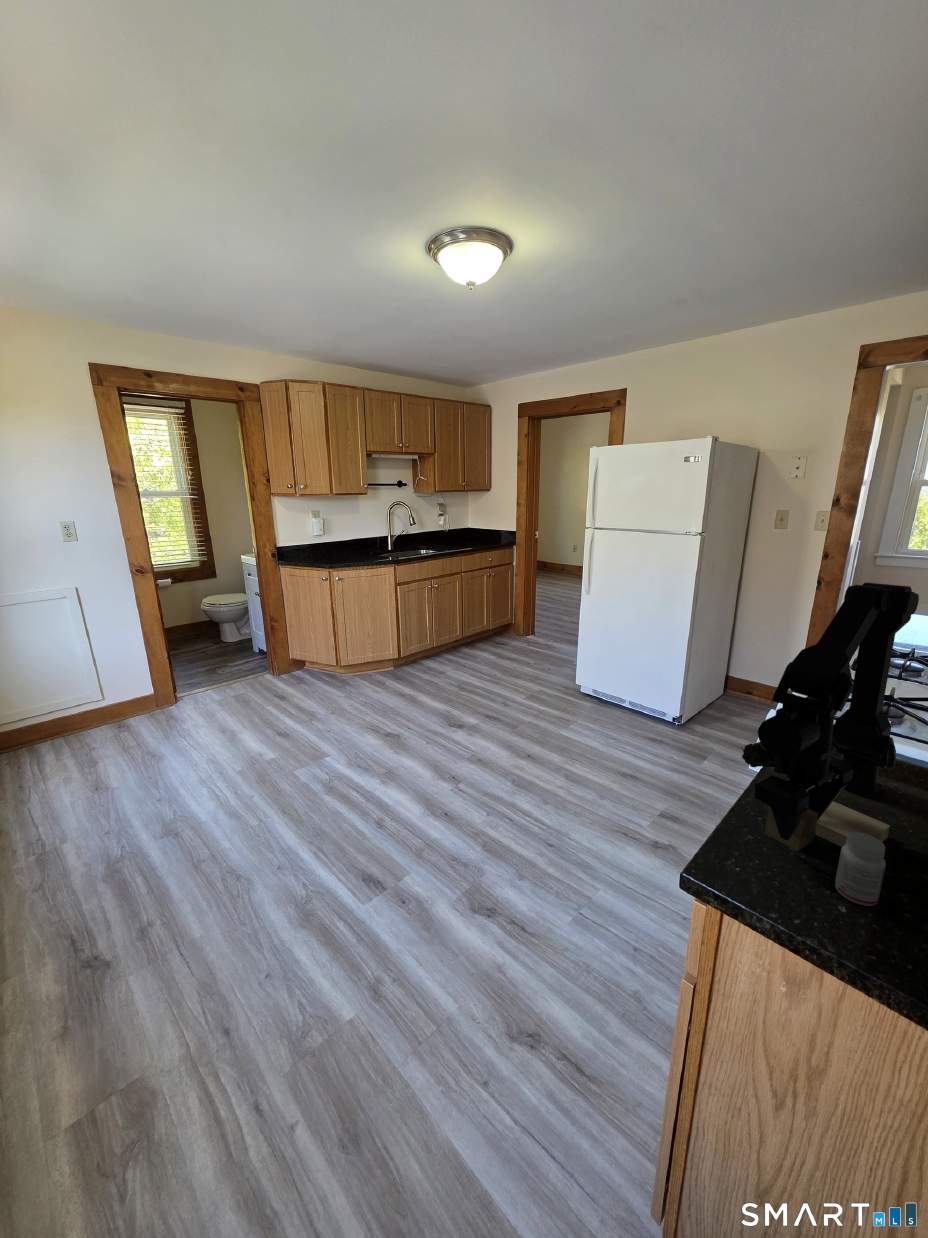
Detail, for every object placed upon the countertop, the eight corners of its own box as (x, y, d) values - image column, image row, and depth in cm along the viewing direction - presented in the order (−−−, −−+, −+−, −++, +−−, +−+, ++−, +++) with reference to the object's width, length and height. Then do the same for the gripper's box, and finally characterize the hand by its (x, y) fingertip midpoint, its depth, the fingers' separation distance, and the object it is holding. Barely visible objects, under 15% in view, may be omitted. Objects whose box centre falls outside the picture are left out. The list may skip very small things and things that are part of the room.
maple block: (823, 813, 85) (826, 798, 85) (886, 841, 78) (889, 825, 77) (798, 830, 81) (800, 815, 80) (862, 862, 73) (865, 845, 73)
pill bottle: (886, 910, 64) (898, 855, 62) (846, 904, 65) (856, 850, 63) (865, 883, 68) (875, 832, 66) (827, 878, 69) (836, 828, 67)
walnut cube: (780, 824, 82) (784, 798, 80) (813, 840, 77) (818, 813, 76) (764, 834, 79) (768, 807, 78) (797, 851, 75) (802, 823, 74)
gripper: (784, 710, 86) (776, 789, 88) (722, 735, 76) (717, 823, 79) (859, 730, 76) (848, 819, 79) (800, 762, 67) (790, 861, 70)
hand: (799, 829), depth 77 cm, fingers open, 9 cm apart
